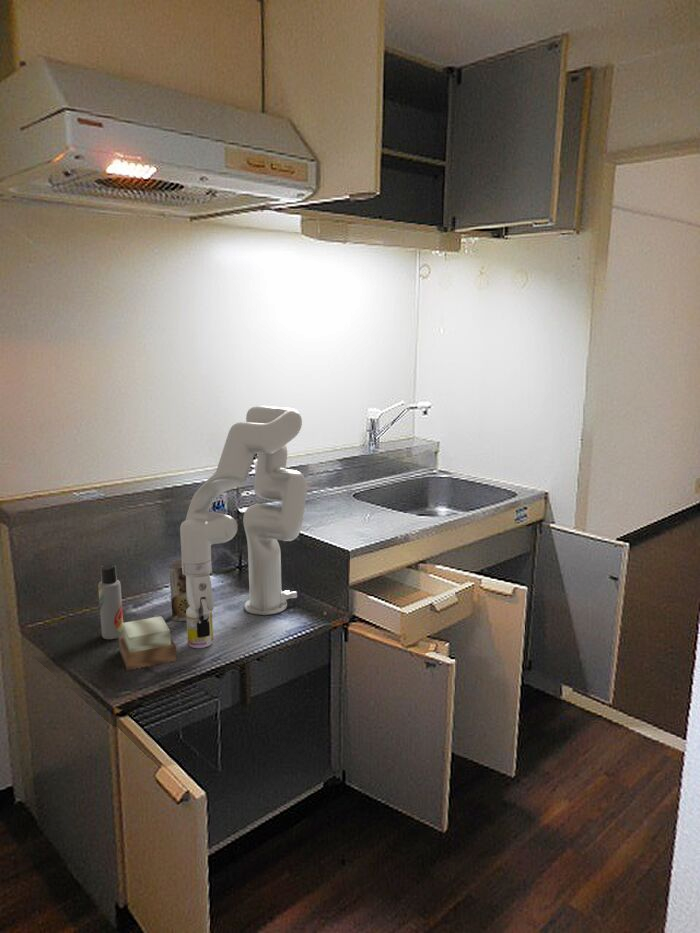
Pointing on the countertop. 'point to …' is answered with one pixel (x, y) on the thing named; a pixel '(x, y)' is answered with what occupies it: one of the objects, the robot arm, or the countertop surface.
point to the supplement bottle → (192, 629)
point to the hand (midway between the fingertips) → (199, 630)
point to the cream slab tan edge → (146, 643)
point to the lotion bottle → (110, 603)
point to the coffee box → (178, 592)
